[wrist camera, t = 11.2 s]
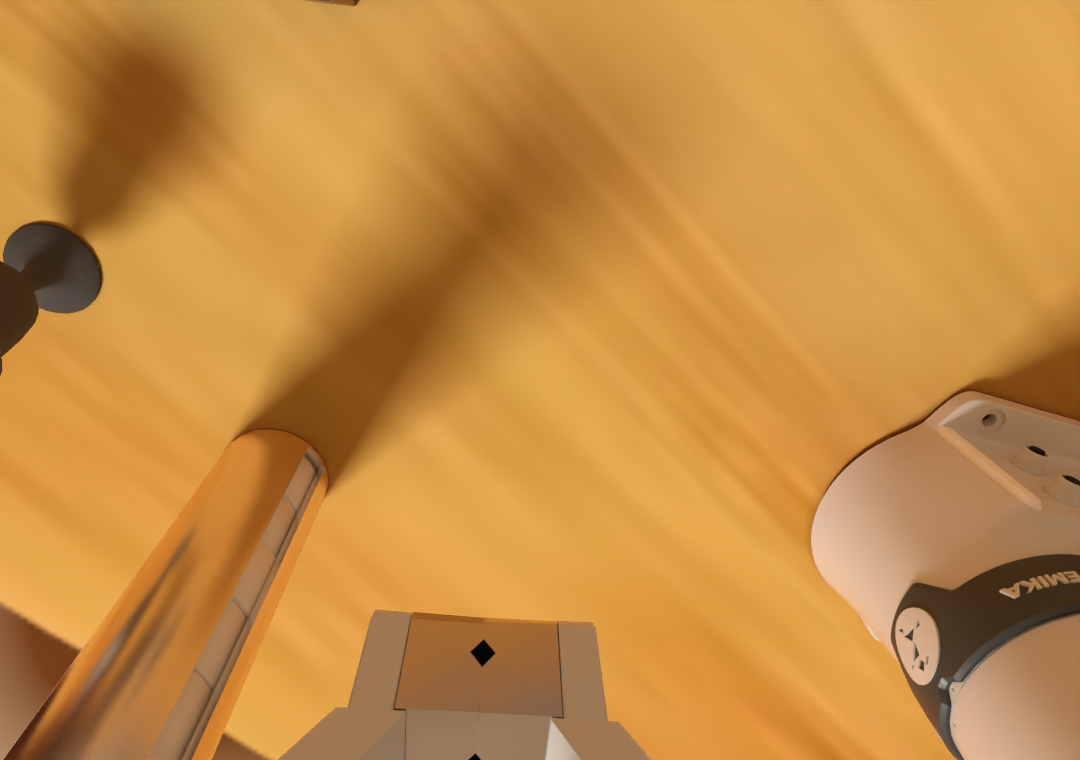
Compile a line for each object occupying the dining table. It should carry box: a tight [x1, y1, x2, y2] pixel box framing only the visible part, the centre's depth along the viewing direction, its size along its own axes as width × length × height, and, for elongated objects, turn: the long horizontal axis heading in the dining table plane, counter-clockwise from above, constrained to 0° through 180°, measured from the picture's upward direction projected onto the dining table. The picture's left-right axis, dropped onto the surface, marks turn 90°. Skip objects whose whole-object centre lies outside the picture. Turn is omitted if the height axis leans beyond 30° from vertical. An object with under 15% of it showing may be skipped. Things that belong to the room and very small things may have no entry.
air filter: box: [3, 429, 328, 760], centre depth 34 cm, size 6×6×25 cm
